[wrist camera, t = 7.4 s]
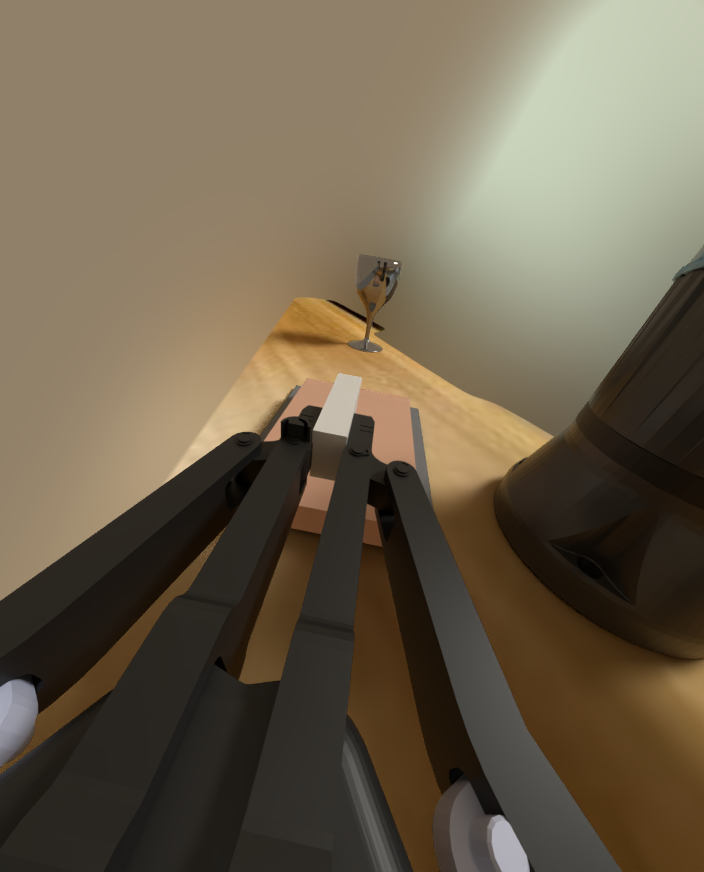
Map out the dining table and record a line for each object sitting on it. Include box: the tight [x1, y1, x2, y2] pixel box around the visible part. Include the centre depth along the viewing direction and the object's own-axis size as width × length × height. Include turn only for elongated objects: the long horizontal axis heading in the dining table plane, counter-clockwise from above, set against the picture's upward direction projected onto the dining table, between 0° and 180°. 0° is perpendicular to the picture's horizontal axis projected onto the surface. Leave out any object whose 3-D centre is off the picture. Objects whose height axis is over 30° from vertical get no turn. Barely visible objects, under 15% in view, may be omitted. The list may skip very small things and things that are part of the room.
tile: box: [264, 378, 416, 547], centre depth 25 cm, size 12×2×18 cm
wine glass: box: [348, 254, 403, 352], centre depth 51 cm, size 8×8×15 cm
